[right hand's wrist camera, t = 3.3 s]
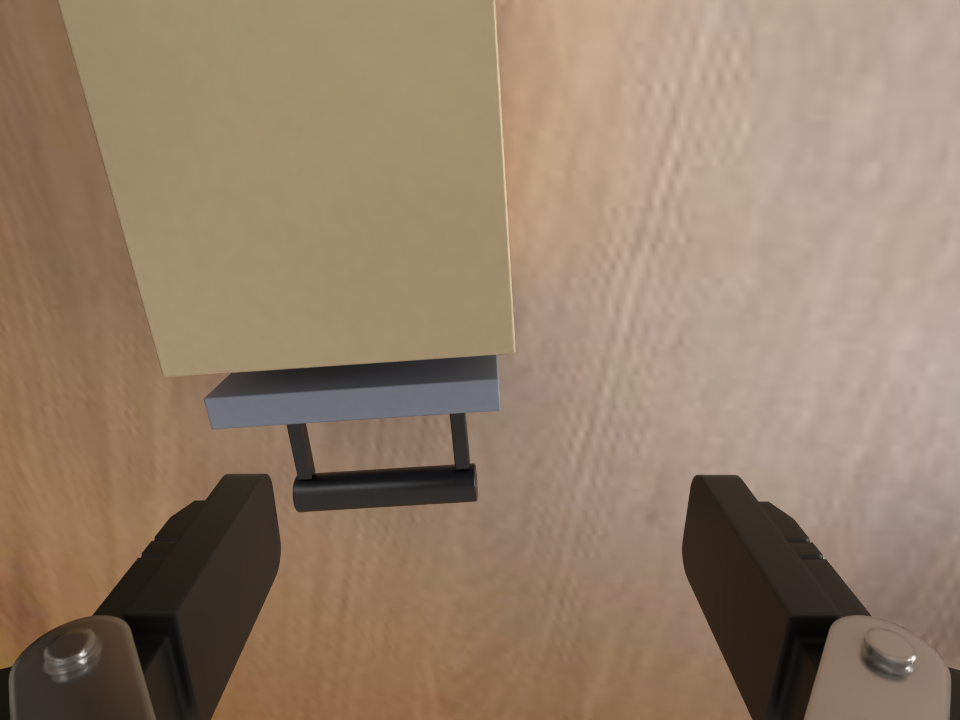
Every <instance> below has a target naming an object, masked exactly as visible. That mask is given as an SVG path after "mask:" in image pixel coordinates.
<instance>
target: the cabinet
mask: <svg viewBox="0 0 960 720" xmlns="http://www.w3.org/2000/svg"><path fill="white" fill-rule="evenodd" d="M58 4H59V8H60V11H61V15H62V18H63V22H64V25H65V29H66V32H67V36H68V40H69V43H70V47H71V50H72V54H73V57H74V61H75V64H76V68H77V72H78V75H79V79H80V82H81V86H82V89H83V93H84V96H85V100H86V104H87V107H88V111H89V114H90V118H91V121H92V125H93V128H94V132H95V136H96V139H97V143H98V146H99V150H100V153H101V157H102V160H103V164H104V168H105V171H106V175H107V178H108V182H109V185H110V189H111V192H112V196H113V200H114V203H115V207H116V210H117V214H118V217H119V221H120V224H121V228H122V232H123V235H124V239H125V242H126V246H127V249H128V253H129V256H130V260H131V264H132V267H133V271H134V274H135V278H136V281H137V285H138V288H139V292H140V296H141V299H142V303H143V306H144V310H145V313H146V317H147V320H148V324H149V328H150V331H151V335H152V338H153V342H154V345H155V349H156V352H157V356H158V360H159V363H160V367H161V370H162V374H163V376H164V377H178V376H192V375H207V374H222V373H236V372H251V371H266V370H280V369H295V368H310V367H324V366H339V365H354V364H368V363H383V362H397V361H412V360H427V359H441V358H456V357H471V356H485V355H500V354H513V353H515V351H516V350H515V332H514V315H513V298H512V281H511V264H510V246H509V229H508V212H507V195H506V177H505V160H504V143H503V126H502V109H501V91H500V74H499V57H498V40H497V22H496V5H495V0H58Z"/></svg>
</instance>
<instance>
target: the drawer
mask: <svg viewBox="0 0 960 720" xmlns="http://www.w3.org/2000/svg"><path fill="white" fill-rule="evenodd" d="M204 401H205V405H206V408H207V412H208V416H209V420H210V424H211V428H212V429H224V428H239V427H255V426H270V425H285V424H287V428H288V433H289V438H290V443H291V447H292V452H293V457H294V462H295V466H296V471H297V476H296V478H295V481H294V485H293V502H294V506H295V509H296V510H297V511H298V512H309V511H326V510H343V509H359V508H376V507H392V506H409V505H425V504H442V503H459V502H475V501H477V499H478V490H477V473H476V465H475V464H474V463H472V464H470V456H469V446H468V435H467V424H466V413H469V412H485V411H499V410H500V409H501V406H500V389H499V372H498V355H485V356H471V357H456V358H441V359H427V360H412V361H397V362H383V363H368V364H354V365H339V366H324V367H310V368H295V369H280V370H266V371H251V372H236V373H231V374H230V375H229V376H227V377H226V378H225V379H224V380H223V381H222V382H221V383H220V384H219V385H218V386H217V387H216V388H215V389H214V390H213V391H212V392H211V393H210V394H209V395H208V396H206V397H205V398H204ZM439 414H450V421H451V431H452V441H453V451H454V460H455V465H440V466H424V467H408V468H392V469H376V470H360V471H344V472H328V473H315V468H314V462H313V457H312V452H311V447H310V442H309V437H308V432H307V427H306V423H316V422H331V421H347V420H362V419H377V418H393V417H408V416H423V415H439Z"/></svg>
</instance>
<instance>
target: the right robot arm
mask: <svg viewBox="0 0 960 720" xmlns="http://www.w3.org/2000/svg"><path fill="white" fill-rule="evenodd" d="M280 555H281V542H280V535H279V528H278V521H277V514H276V507H275V500H274V493H273V486H272V481H271V479H270V477H269V475H267V474H226V475H224V476H223V477H222V479H221V480H220V481H219V483H218V484H217V485H216V487H215V488H214V490H213V491H212V492H211V494H210V495H209V496H208V498H207V499H206V500H205V501H194V502H192V503H191V504H189V505H188V506H186V507H185V508H183V509H182V510H181V511H179V512H178V513H176V514H175V515H173V516H172V517H170V519H169V520H168V521H167V522H166V524H165V525H164V526H163V527H162V529H161V530H160V531H159V532H158V534H157V535H156V536H155V540H154V541H151V542H150V544H149V545H148V546H147V547H146V549H145V550H144V551H143V553H142V556H141V558H138V559H137V560H136V561H135V563H134V564H133V565H132V566H131V568H130V569H129V570H128V571H127V573H126V574H125V575H124V576H123V578H122V579H121V580H120V581H119V583H118V584H117V585H116V586H115V588H114V589H113V590H112V591H111V593H110V594H109V595H108V597H107V598H106V599H105V600H104V602H103V603H102V604H101V605H100V607H99V608H98V609H97V610H96V612H95V613H94V614H93V615H92V616H89V617H84V618H80V619H77V620H74V621H71V622H68V623H66V624H63V625H61V626H59V627H57V628H55V629H53V630H51V631H49V632H47V633H46V634H44V635H43V636H41V637H40V638H38V639H37V640H36V641H35V642H33V643H32V644H31V645H30V646H29V647H27V648H26V649H25V650H24V651H23V652H22V654H21V655H20V656H19V657H18V658H17V660H16V661H15V663H14V665H13V666H12V667H8V668H4V669H0V720H211V718H212V716H213V714H214V711H215V709H216V707H217V705H218V703H219V700H220V698H221V696H222V694H223V692H224V689H225V687H226V685H227V683H228V681H229V678H230V676H231V674H232V672H233V670H234V667H235V665H236V663H237V661H238V659H239V656H240V654H241V652H242V650H243V648H244V645H245V643H246V641H247V639H248V637H249V634H250V632H251V630H252V628H253V626H254V623H255V621H256V619H257V617H258V615H259V612H260V610H261V608H262V606H263V604H264V601H265V599H266V597H267V595H268V593H269V591H270V588H271V586H272V584H273V582H274V580H275V577H276V575H277V572H278V568H279V563H280ZM682 555H683V564H684V569H685V573H686V576H687V578H688V581H689V583H690V585H691V587H692V589H693V591H694V594H695V596H696V598H697V600H698V602H699V604H700V607H701V609H702V611H703V613H704V615H705V617H706V620H707V622H708V624H709V626H710V628H711V630H712V633H713V635H714V637H715V639H716V641H717V643H718V646H719V648H720V650H721V652H722V654H723V657H724V659H725V661H726V663H727V665H728V667H729V670H730V672H731V674H732V676H733V678H734V680H735V683H736V685H737V687H738V689H739V691H740V693H741V696H742V698H743V700H744V702H745V704H746V706H747V709H748V711H749V713H750V715H751V717H752V719H753V720H960V670H956V669H953V668H949V667H948V666H947V665H946V663H945V661H944V660H943V658H942V657H941V656H940V655H939V654H938V652H937V651H936V650H935V649H934V648H933V647H931V646H930V645H929V644H928V643H927V642H925V641H924V640H923V639H922V638H920V637H919V636H917V635H916V634H914V633H913V632H911V631H909V630H907V629H905V628H903V627H901V626H899V625H897V624H894V623H892V622H889V621H886V620H883V619H880V618H876V617H872V616H871V615H870V613H869V612H868V611H867V610H866V609H865V607H864V606H863V605H862V604H861V602H860V601H859V600H858V599H857V597H856V596H855V595H854V594H853V592H852V591H851V590H850V589H849V587H848V586H847V585H846V584H845V582H844V581H843V580H842V579H841V577H840V576H839V575H838V574H837V572H836V571H835V570H834V569H833V567H832V566H831V565H830V564H829V562H828V561H827V560H826V559H823V555H822V554H821V552H820V551H819V550H818V549H817V547H816V546H815V545H814V544H813V543H810V541H809V537H808V536H807V535H806V534H805V532H804V531H803V530H802V529H801V528H800V526H799V525H798V524H797V523H796V521H795V520H794V519H793V518H792V517H790V516H789V515H787V514H786V513H784V512H783V511H781V510H780V509H778V508H777V507H776V506H774V505H773V504H771V503H770V502H758V501H757V499H756V498H755V497H754V495H753V494H752V492H751V491H750V490H749V488H748V487H747V486H746V484H745V483H744V482H743V480H742V479H741V478H740V477H739V476H737V475H696V476H695V477H694V478H693V480H692V483H691V488H690V495H689V502H688V508H687V515H686V522H685V529H684V536H683V544H682Z"/></svg>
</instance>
